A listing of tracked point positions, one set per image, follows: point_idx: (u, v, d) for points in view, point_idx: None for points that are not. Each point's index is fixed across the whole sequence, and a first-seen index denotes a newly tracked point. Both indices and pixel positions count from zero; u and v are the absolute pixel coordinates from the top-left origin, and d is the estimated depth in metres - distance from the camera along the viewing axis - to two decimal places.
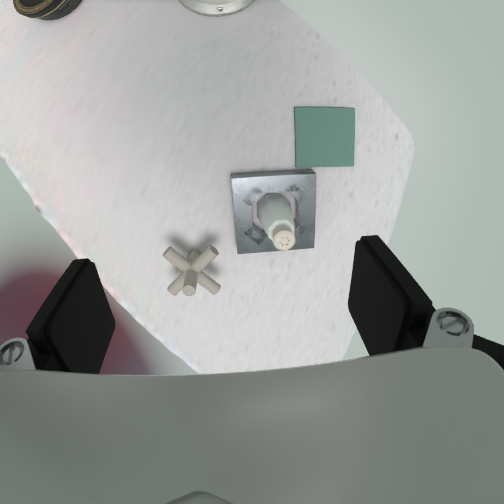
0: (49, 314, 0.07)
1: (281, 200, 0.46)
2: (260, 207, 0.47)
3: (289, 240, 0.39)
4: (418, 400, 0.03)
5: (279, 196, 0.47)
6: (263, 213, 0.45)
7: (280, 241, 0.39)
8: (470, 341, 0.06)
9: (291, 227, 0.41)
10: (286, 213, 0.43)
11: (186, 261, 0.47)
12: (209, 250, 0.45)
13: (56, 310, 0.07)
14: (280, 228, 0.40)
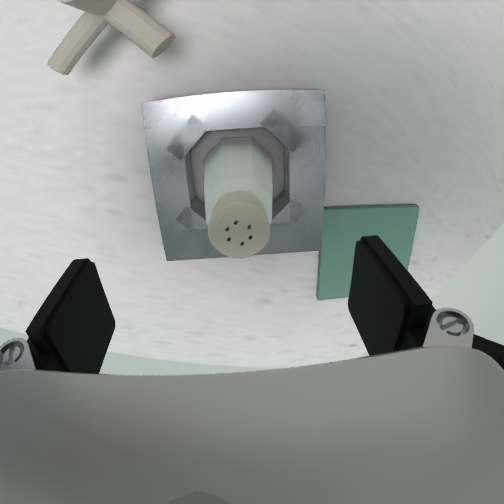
0: (49, 314, 0.07)
1: None
2: (253, 146, 0.21)
3: (242, 246, 0.14)
4: (418, 400, 0.03)
5: None
6: (254, 156, 0.19)
7: (238, 222, 0.14)
8: (470, 341, 0.06)
9: None
10: None
11: None
12: (166, 34, 0.14)
13: (56, 310, 0.07)
14: (264, 214, 0.15)
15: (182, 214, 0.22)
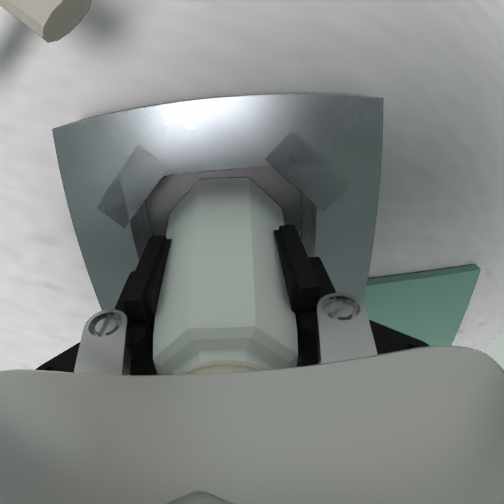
0: (145, 284, 0.08)
1: None
2: (253, 200, 0.12)
3: None
4: (418, 400, 0.03)
5: None
6: (255, 230, 0.10)
7: None
8: (366, 319, 0.07)
9: None
10: None
11: None
12: None
13: (150, 280, 0.09)
14: None
15: None
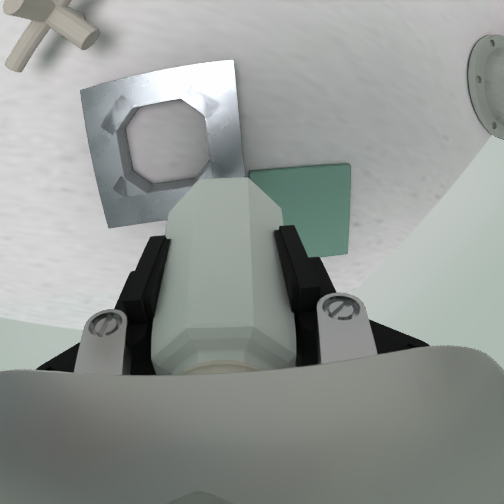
0: (145, 283, 0.08)
1: None
2: (251, 200, 0.12)
3: None
4: (418, 400, 0.03)
5: None
6: (254, 230, 0.10)
7: None
8: (366, 319, 0.07)
9: None
10: None
11: None
12: (91, 30, 0.15)
13: (150, 280, 0.09)
14: None
15: (117, 183, 0.24)
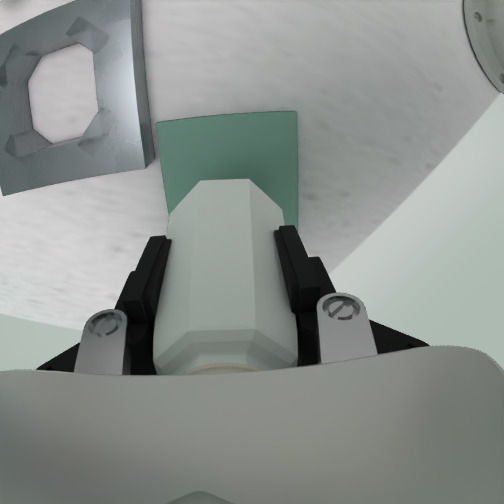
0: (145, 284, 0.08)
1: None
2: (253, 201, 0.12)
3: None
4: (418, 400, 0.03)
5: None
6: (256, 232, 0.10)
7: None
8: (366, 319, 0.07)
9: None
10: None
11: None
12: None
13: (150, 280, 0.09)
14: None
15: (8, 143, 0.16)
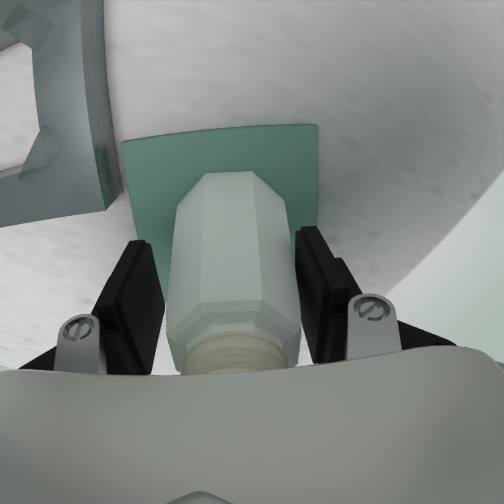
0: (119, 289, 0.08)
1: None
2: (256, 191, 0.13)
3: None
4: (418, 400, 0.03)
5: None
6: (260, 218, 0.11)
7: None
8: (395, 322, 0.07)
9: None
10: None
11: None
12: None
13: (124, 286, 0.08)
14: None
15: None
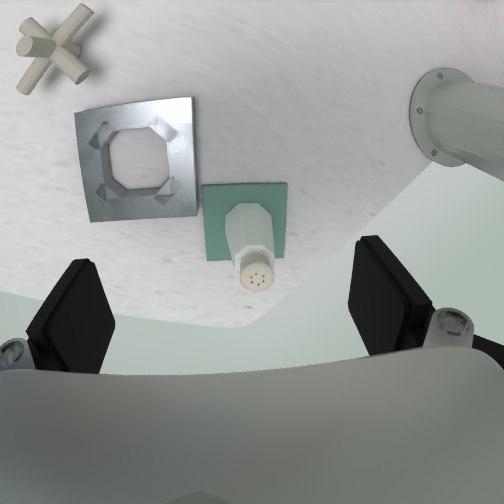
0: (49, 314, 0.07)
1: None
2: (260, 212, 0.32)
3: (258, 285, 0.26)
4: (418, 400, 0.03)
5: None
6: (262, 223, 0.31)
7: (257, 273, 0.25)
8: (470, 341, 0.06)
9: None
10: None
11: (68, 38, 0.20)
12: (83, 70, 0.21)
13: (56, 310, 0.07)
14: (271, 267, 0.27)
15: (99, 188, 0.30)
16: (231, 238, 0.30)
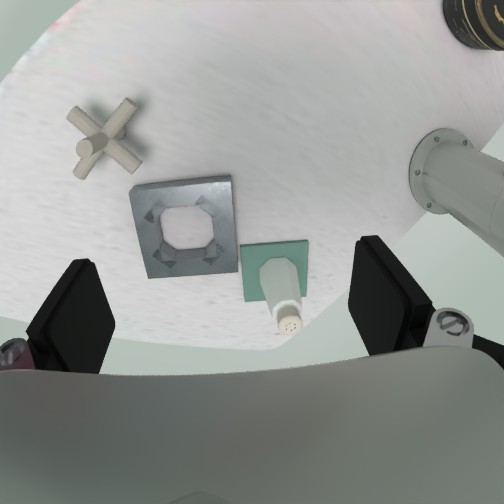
0: (49, 314, 0.07)
1: None
2: (288, 267, 0.41)
3: (291, 331, 0.35)
4: (418, 400, 0.03)
5: None
6: (290, 278, 0.39)
7: (291, 323, 0.34)
8: (470, 341, 0.06)
9: None
10: None
11: (118, 131, 0.29)
12: (137, 163, 0.30)
13: (56, 310, 0.07)
14: (299, 316, 0.35)
15: (155, 253, 0.39)
16: (267, 291, 0.39)
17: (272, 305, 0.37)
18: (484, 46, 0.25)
